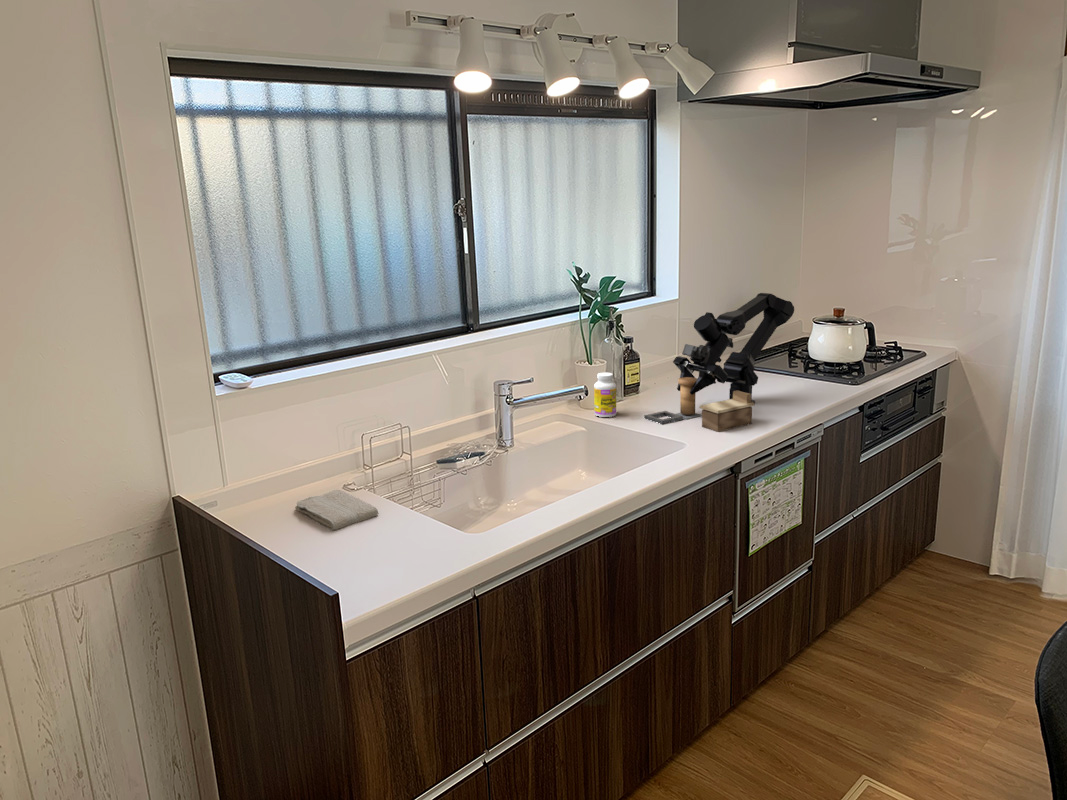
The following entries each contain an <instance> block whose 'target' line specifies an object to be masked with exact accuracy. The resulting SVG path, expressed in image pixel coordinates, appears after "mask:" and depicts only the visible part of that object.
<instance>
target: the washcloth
mask: <svg viewBox="0 0 1067 800" xmlns="http://www.w3.org/2000/svg"><path fill="white" fill-rule="evenodd" d="M294 508H295V509H294V510H296V511H298V513H299V514H301V515H302V516H304V517H305V518H307V519H309V520H311V521H312V522H314V523H317V525H320V526H322V527H324V528H325V529H327V530H330V531H335V530H340V529H342V528H344V527H345V528H346V527H348V526H349V525H352V524H356V523H360V522H363V521H366V520H368V519H371V518H375V517H376V516H378V515H379V511H378V509H377V507H376V506H374V505H372V504H370V503H367V502H365V501H363V500H362V499H360V498H359V497H356V496H354V495H352V494H349V493H347V492H346V491H344V490H341V489H334V490H331V491H329V492H327V493H324V494H322V495H321V494H320V495H313V496H309V497H307V498H304V499H301V500H297V502H296V506H295V507H294Z"/></svg>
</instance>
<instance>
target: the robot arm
mask: <svg viewBox="0 0 1067 800" xmlns="http://www.w3.org/2000/svg"><path fill="white" fill-rule="evenodd" d="M762 312H763V315H762V316H763V319H762V320H761V322H760V324H759V325H758V326H757V328H756V329H755V331H754V332H753V333H752V335H751V337H749V339H748V341H747V342H746V343H745V345H744V346H743V347H742V349H741V350H740V351H739V352H737V351H732V352H731V353H730V354H729V356H728V358H726V360H725V363H724V365H723V367H722V366H721V365H720V364H717V363H721V361H722V359H721V357H722V355H723V353H724V352H725V351H726V349H727V348H731V349H733V348H734V342H733V340H734V339H733V338H732V337H731V338H730V337H729V336H728V335H731V336H737V335H739V334H740V333H741V332H742V331H743V330H745V328H746V324H747V323H748V322H749V321H751V320H752V319H753V318H755V317H756V316H757V315H759V314H760V313H762ZM794 313H795V306H794V305H793V302H792V301H790V300H786V299H783V298H781V297H778V296H777V295H775V294H773V293H767V292H760V293H757V295H756V296H755V297H753V298H752V299H750V300H749V301H748V302H747V303H745V304H743V305H742V306H740V307H739V308H737V309H735V310H732V311H726V312H723V313H721V314H719V315H718V316H717V317H715V316H714V313H713V312H707V311H706V312H705V314H703V315H701V316H700V317H698V318H697V319H695V321H694V323H693V328H694V330H695V331H696V332H697V333H698V335H699V336H700V337H701V339H702V340H703V341H705V342H706V343H705V344H704V345H703V344H700V345H698V346H696V345H692V344H687V343H685V344H684V348H683V350H682V353H681V354H682V355H683V356H682V355H681V356H680V355H678V356H676V357H675V358H674V359H673V361H672V364H674V366H676V368H677V369H678V370H679V371H680V375H679V378H683V377H693V378H696V377H695V375H694V372H698V376H697V380H696V382H695V384H694V385H693V387H692V388H691V390H690V394H691V395H693V394H694V393H695V394H696V393H698V392H700V391H701V390H703V389H705V388H707V387H709V386H711V385H713V384H714V385H715V384H717V383H721V384H725V383H730V384H729V385H730V388H729V393H728V394H729V399H733V391H737V390H738V391H741V392H745V393H749V394H751V402H753V403H754V404H755V403H756V400H753V398H752V397H753V387H754V386H755V385H757V384H758V380H759V376H758V375H757V373H755V371H754V370H755V367H756V365H755V360H756V359H757V358H758V356H759V355H760V352H762V350H763V348H764V347H765V346H766V344H767V342H768V341H769V340H770V339H771V337H772V335H773V334H774V332H775V331H776V329H777V328H778V327H780V326H782V325H784V324H786V323H788V322H789V320H790V319H791V318H792V317H793V315H794ZM685 356H687V357H690V358H687V357H685ZM676 390H677V391H678V392H680V384H678V383H677V387H676ZM729 399H727V400H729Z"/></svg>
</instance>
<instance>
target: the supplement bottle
mask: <svg viewBox="0 0 1067 800" xmlns="http://www.w3.org/2000/svg"><path fill="white" fill-rule="evenodd" d="M596 377H597V381H596V382H595V383H594V384H593V390H594V391H593V398H594V399H593V403H594V404H593V407H594V412H593V413H594V415H596V417H597V416H599V417H598V418H601V417H609V418H613V417H615V416H616V415H617V384H616V383H615V381H613V379H614V375H613V372H606V371H605V372H598V373H597V375H596ZM612 416H613V417H612Z"/></svg>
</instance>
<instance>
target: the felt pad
mask: <svg viewBox="0 0 1067 800" xmlns="http://www.w3.org/2000/svg"><path fill="white" fill-rule="evenodd" d="M676 414H677V415H680V416H683V420H690V418H691V419H695V418H699V417H702V414H700V413H697V412H695V414H690V415H686V414H681V413H680V412H677V413H676Z"/></svg>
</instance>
